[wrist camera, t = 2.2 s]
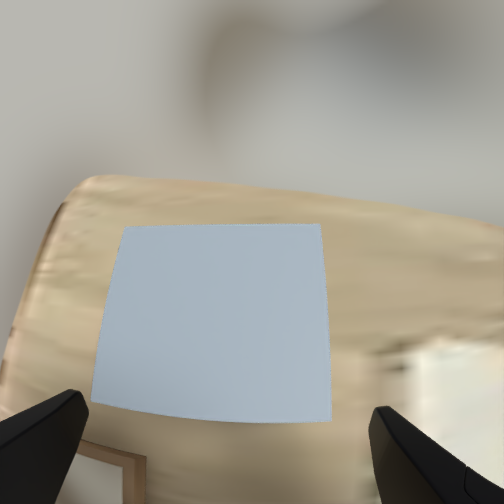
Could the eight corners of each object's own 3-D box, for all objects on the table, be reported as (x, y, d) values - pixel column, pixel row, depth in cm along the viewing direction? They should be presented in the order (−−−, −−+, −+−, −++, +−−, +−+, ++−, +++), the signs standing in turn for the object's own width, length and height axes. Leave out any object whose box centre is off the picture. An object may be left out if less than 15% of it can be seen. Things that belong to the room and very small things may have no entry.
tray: (148, 576, 10) (137, 587, 8) (32, 528, 10) (17, 531, 9) (146, 456, 15) (133, 459, 13) (29, 420, 15) (12, 417, 14)
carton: (291, 418, 16) (334, 423, 5) (203, 415, 16) (88, 402, 5) (291, 344, 18) (321, 222, 7) (208, 343, 18) (123, 225, 8)
